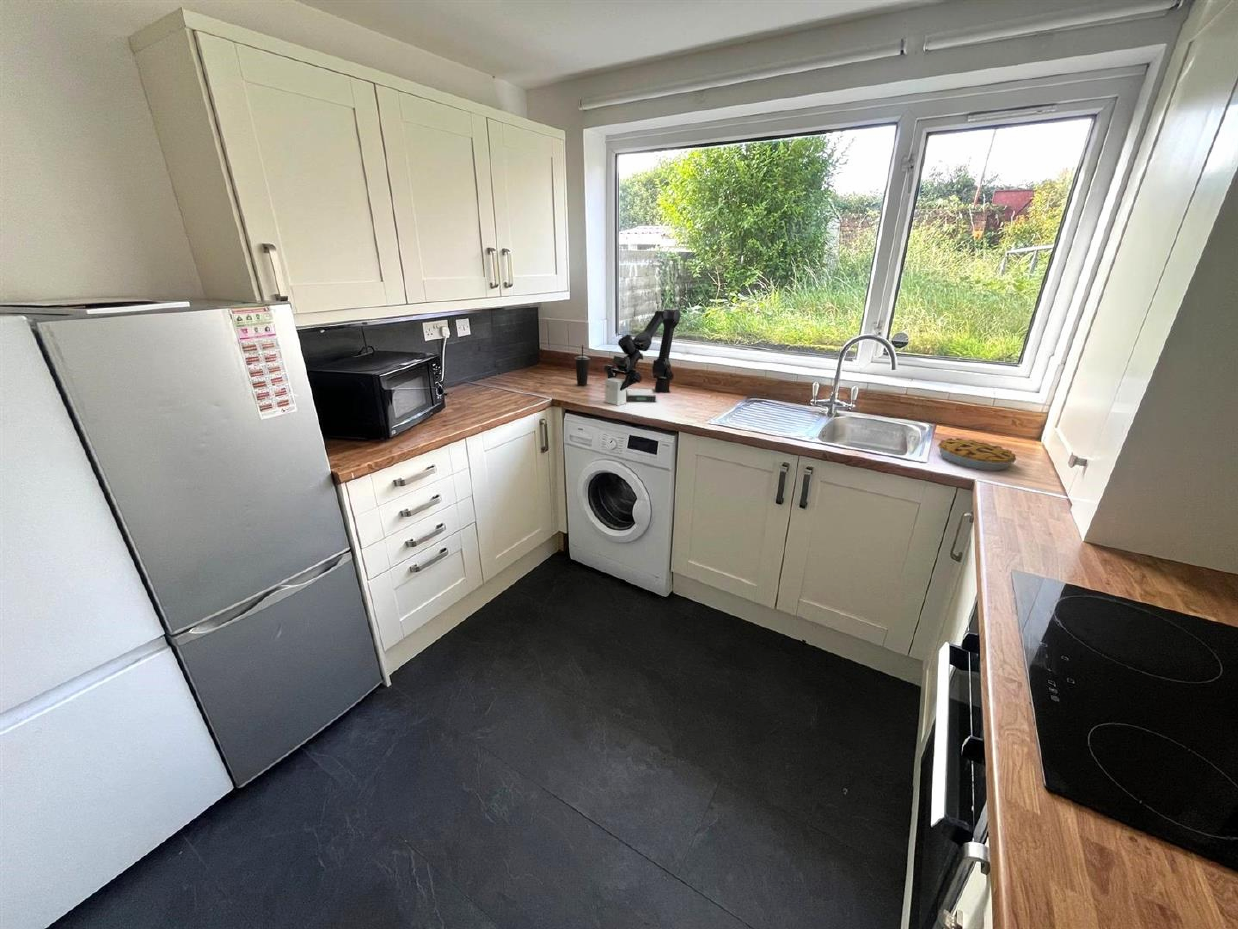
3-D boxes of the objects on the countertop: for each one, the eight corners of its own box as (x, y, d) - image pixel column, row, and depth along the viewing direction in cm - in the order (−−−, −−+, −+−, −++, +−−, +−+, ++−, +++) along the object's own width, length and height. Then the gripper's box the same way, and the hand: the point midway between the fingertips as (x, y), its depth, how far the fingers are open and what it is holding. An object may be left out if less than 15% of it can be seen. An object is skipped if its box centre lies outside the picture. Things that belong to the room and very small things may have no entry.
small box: (626, 403, 223) (626, 380, 219) (617, 405, 219) (618, 381, 215) (613, 400, 228) (613, 377, 224) (604, 402, 224) (605, 378, 220)
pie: (923, 456, 169) (927, 442, 168) (952, 445, 181) (956, 432, 180) (997, 477, 153) (1002, 462, 151) (1023, 464, 165) (1028, 450, 163)
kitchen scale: (651, 395, 239) (652, 388, 238) (655, 402, 227) (655, 395, 226) (624, 394, 238) (625, 388, 237) (627, 401, 226) (627, 394, 225)
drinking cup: (589, 387, 251) (589, 346, 244) (573, 386, 251) (573, 346, 244) (590, 383, 258) (590, 344, 251) (575, 383, 258) (575, 343, 251)
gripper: (607, 346, 223) (589, 374, 219) (639, 351, 212) (621, 381, 208) (618, 362, 232) (601, 389, 228) (649, 368, 220) (632, 396, 217)
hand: (613, 388), depth 220 cm, fingers closed on small box, 8 cm apart
